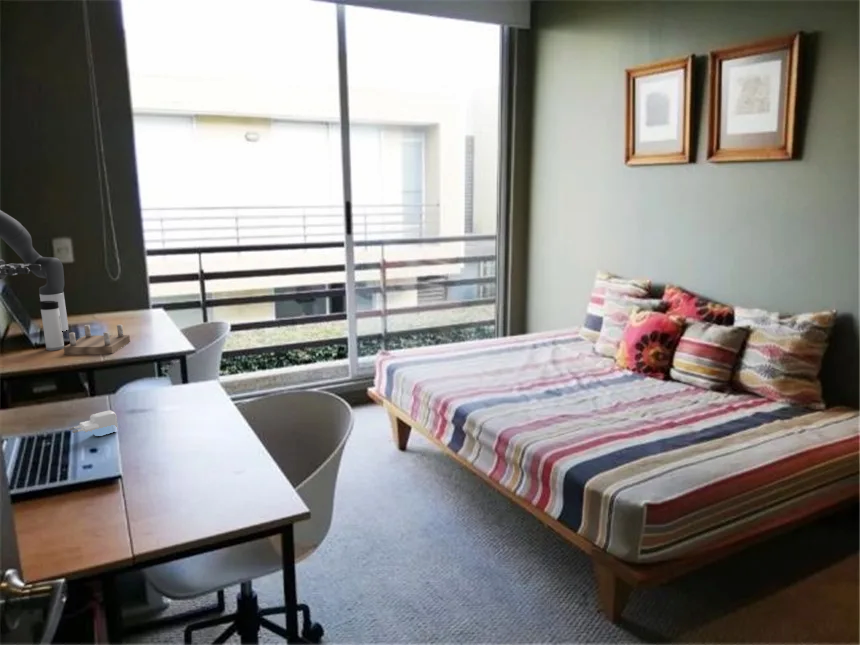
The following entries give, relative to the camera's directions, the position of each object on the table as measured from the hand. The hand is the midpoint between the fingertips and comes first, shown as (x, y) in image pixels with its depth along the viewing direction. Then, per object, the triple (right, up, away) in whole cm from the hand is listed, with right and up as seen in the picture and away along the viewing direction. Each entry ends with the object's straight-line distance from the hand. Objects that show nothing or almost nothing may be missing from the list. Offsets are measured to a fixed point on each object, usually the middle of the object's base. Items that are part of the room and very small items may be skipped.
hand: (34, 269), depth 232 cm
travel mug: (-4, -31, +19) cm, 36 cm away
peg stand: (+13, -30, +20) cm, 39 cm away
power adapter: (+58, -51, -66) cm, 101 cm away
